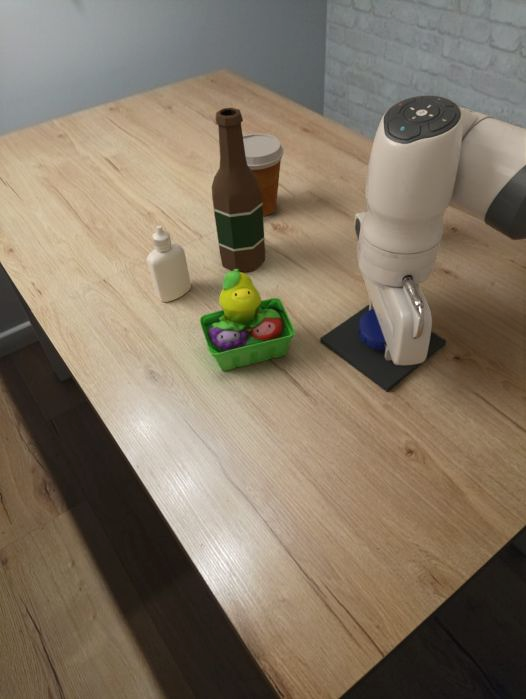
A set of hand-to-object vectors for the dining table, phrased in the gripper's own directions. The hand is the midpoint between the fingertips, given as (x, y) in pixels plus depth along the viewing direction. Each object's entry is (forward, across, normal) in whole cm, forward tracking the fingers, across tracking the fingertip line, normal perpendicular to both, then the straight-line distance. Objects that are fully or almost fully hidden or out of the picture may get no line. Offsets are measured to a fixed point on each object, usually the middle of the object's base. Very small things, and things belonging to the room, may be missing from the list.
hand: (382, 335), depth 70 cm
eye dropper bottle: (+2, +15, +29) cm, 33 cm away
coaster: (+2, 0, 0) cm, 2 cm away
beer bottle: (+2, +22, +18) cm, 28 cm away
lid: (-2, 0, 0) cm, 2 cm away
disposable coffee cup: (+2, +37, +14) cm, 39 cm away
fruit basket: (+2, +2, +18) cm, 18 cm away
